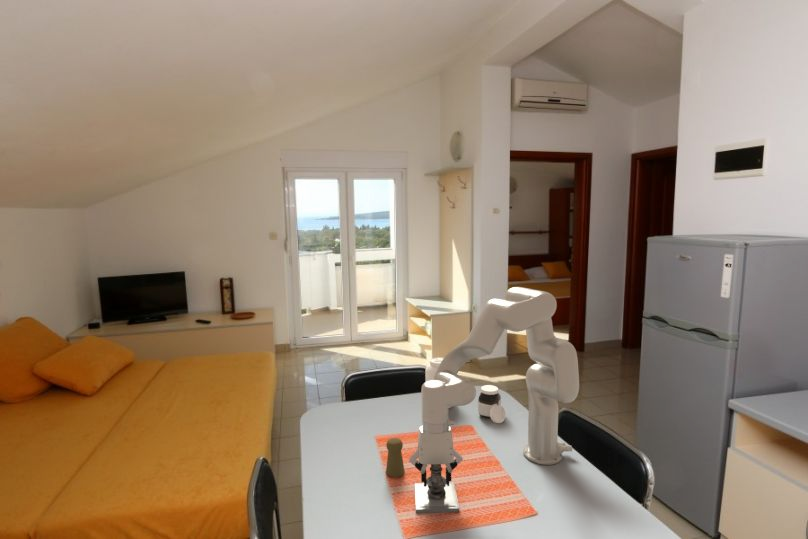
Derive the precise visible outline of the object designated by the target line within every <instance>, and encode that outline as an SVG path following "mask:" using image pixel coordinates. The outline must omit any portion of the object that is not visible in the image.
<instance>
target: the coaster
mask: <svg viewBox="0 0 808 539" xmlns="http://www.w3.org/2000/svg"><path fill="white" fill-rule="evenodd" d="M455 486H456V485H455V482H449V486H447V484H445V487H444V490H445V492H446V494H445V496H444V497H442V498H432V497H430V496H429V495H428V493H427V491H428V490H429V488H428V485H427V486H426V487H424V482H421V483H414V498H415V513H416V514H421V513H422V514H424V513H427V514H429V513H431V514H432V513H459V512H460V506H459V501H458V496H457V490H456V487H455Z"/></svg>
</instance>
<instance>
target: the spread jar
mask: <svg viewBox="0 0 808 539" xmlns="http://www.w3.org/2000/svg"><path fill="white" fill-rule="evenodd" d="M480 389H481V390H480V393H479V395H478V401H477V409H478V410H477V411H478V415H479V416H480V417H482V418H483V419H485V420H491V421H492V422H493V423H496V424H501V423H503V422H504V421H505V419H506V416H507V415H506V414H507V413H506V410H505V408H504V407H503V405H502V396H501V394H500V393H499V388H498V387H497V386H495V385H493V384H486V385H482V386H481V388H480Z"/></svg>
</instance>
